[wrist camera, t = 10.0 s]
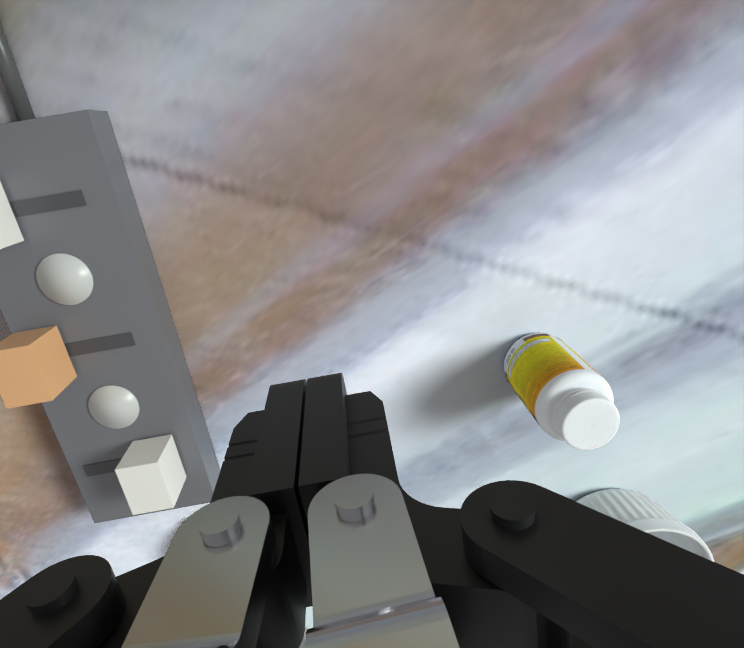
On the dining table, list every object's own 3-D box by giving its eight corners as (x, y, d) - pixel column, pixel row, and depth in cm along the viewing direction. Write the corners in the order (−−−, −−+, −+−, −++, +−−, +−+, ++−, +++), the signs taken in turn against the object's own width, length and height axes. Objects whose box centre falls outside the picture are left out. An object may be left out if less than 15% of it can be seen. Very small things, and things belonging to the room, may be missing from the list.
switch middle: (13, 332, 36) (-19, 353, 33) (56, 325, 36) (28, 345, 33) (35, 383, 37) (6, 408, 34) (77, 376, 37) (52, 400, 34)
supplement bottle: (489, 376, 44) (534, 444, 34) (523, 319, 42) (579, 375, 33) (544, 399, 45) (602, 471, 36) (578, 345, 44) (649, 405, 34)
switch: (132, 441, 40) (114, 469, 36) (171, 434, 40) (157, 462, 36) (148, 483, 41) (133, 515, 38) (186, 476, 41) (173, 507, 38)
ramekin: (661, 573, 54) (707, 634, 47) (536, 592, 53) (565, 656, 47) (673, 466, 49) (726, 518, 42) (536, 486, 48) (569, 541, 42)
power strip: (-121, -50, 31) (-170, -70, 28) (47, -78, 31) (17, -100, 28) (109, 498, 45) (93, 524, 42) (222, 478, 45) (215, 503, 42)
